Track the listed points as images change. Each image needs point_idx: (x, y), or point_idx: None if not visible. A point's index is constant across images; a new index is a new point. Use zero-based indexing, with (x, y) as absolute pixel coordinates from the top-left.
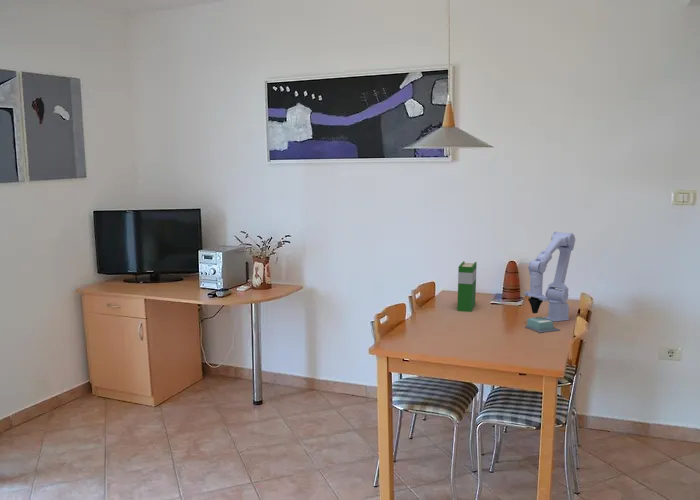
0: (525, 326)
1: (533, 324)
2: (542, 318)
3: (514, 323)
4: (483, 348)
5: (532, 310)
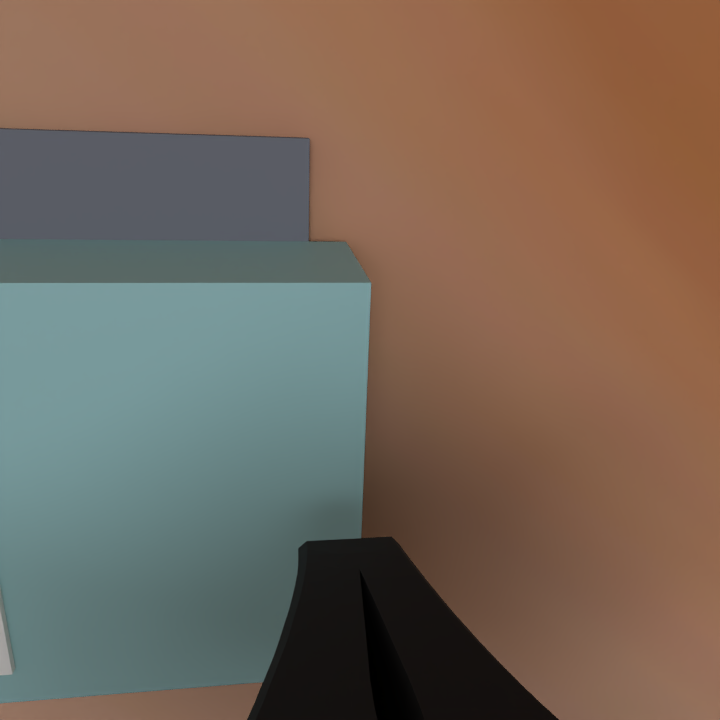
0: (294, 154)
1: (89, 259)
2: (213, 639)
3: (658, 142)
4: None
5: (385, 577)
